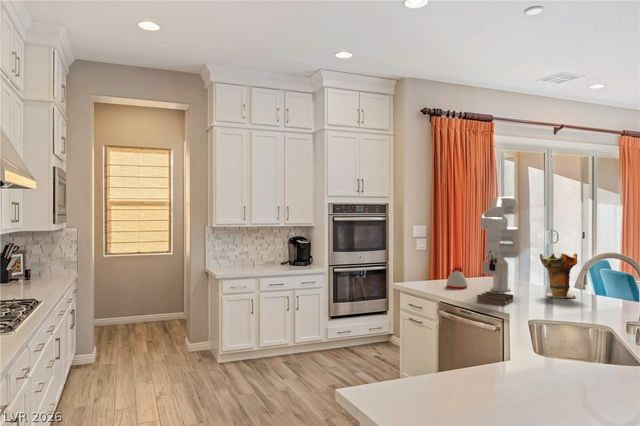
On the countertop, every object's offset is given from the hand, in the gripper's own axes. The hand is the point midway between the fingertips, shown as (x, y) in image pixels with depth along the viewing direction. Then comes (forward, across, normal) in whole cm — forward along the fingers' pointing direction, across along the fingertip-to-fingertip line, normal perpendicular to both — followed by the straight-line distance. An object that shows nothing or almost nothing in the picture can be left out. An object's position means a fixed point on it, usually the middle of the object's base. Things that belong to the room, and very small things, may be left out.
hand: (493, 270), depth 264 cm
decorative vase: (+19, -47, +25) cm, 57 cm away
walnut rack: (+19, -4, 0) cm, 19 cm away
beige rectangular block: (+2, 0, 0) cm, 2 cm away
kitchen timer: (+19, -36, -37) cm, 55 cm away
